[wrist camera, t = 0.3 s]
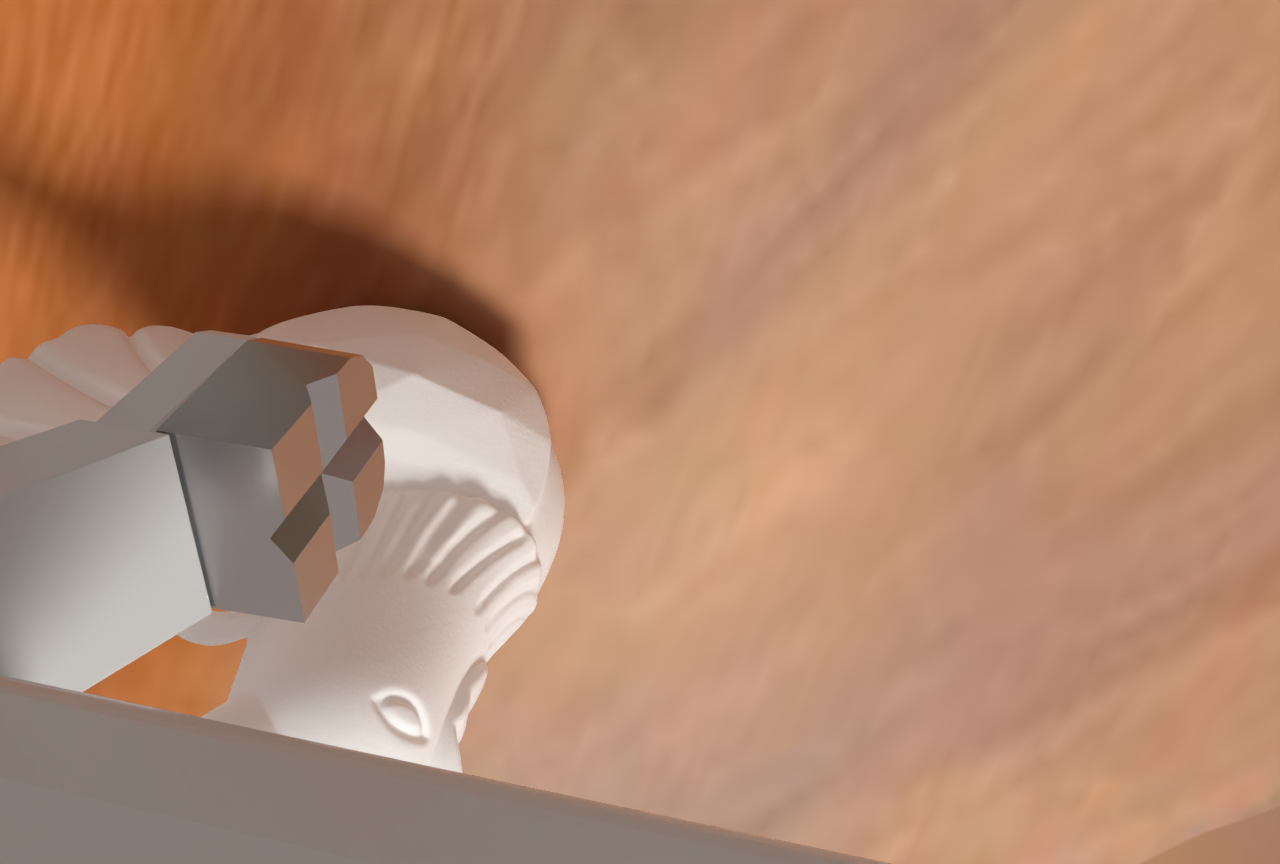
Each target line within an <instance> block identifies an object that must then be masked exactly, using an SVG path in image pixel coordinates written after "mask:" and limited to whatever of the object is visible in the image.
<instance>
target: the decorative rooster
mask: <svg viewBox="0 0 1280 864" xmlns="http://www.w3.org/2000/svg"><path fill="white" fill-rule="evenodd" d="M192 335H193V333H191V332H188V331H185V330H182V329H179V328H175V327H170V326H161V325H155V326H147V327H144V328H141V329H140V330H138V331H136V332H135V333H134V334H133V335H132V336H131V337H129V338H128V336H127V335H126V333H125V332H123V331H122V330H120V329H118V328H115V327H112V326H107V325H97V324H89V325H81V326H78V327H74V328H72V329H70V330H68V331H67V332H65V333H64V334H62V335H61V336H60V337H59V338H56V339H52V340H48V341H46V342H43V343H42V344H40V345H39V346H37V347H36V348H35V350H34V351H33V352H32V353H31V355H30V356H29V358H28V359H23V358H18V357H10V358H8V359H6V360H5V361H3V362H2V363H1V365H0V446H2V445H5V444H8V443H11V442H14V441H17V440H20V439H23V438H26V437H29V436H32V435H35V434H38V433H41V432H44V431H47V430H50V429H53V428H56V427H59V426H62V425H65V424H68V423H71V422H74V421H77V420H86V421H92V422H96V421H98V420H99V419H100V418H101V417H102V416H103V415H104V414H105V413H106V412H108V411H109V410H110V409H111V408H112V407H113V406H114V405H115V404H116V403H118V402H119V401H120V400H121V399H122V398H123V397H124V396H125V395H126V394H128V393H129V392H130V391H131V390H132V389H133V388H134V387H135V386H136V385H138V384H139V383H140V382H141V381H142V380H143V379H144V378H145V377H146V376H148V375H149V374H150V373H151V372H152V371H153V370H154V369H155V368H156V367H158V366H159V365H160V364H161V363H162V362H163V361H164V360H165V359H166V358H168V357H169V356H170V355H171V354H172V353H173V352H174V351H175V350H176V349H178V348H179V347H180V346H181V345H182V344H183V343H184V342H185V341H186V340H188V339H189V338H190V337H191V336H192ZM249 336H254V337H256V338H266V339H272V340H278V341H283V342H289V343H295V344H301V345H307V346H313V347H318V348H324V349H330V350H336V351H342V352H348V353H353V354H359V355H363V356H364V358H365V359H366V360H367V361H368V362H369V363H370V364H371V365H372V367H373V373H374V379H375V385H376V391H377V398H378V399H377V400H376V401H375V403H374V404H373V405H372V407H371V408H370V409H369V410H368V412H367V413H366V414H365V416H364V417H365V419H366V420H367V421H368V422H369V424H370V425H371V426H372V427H373V429H374V430H375V431H376V432H377V434H378V435H379V436H380V437H381V439H382V440H383V448H384V457H385V473H384V487H383V491H382V495H381V498H380V501H379V504H378V508H377V511H376V514H375V517H374V519H373V521H372V522H371V524H370V526H369V527H368V529H367V530H366V532H365V533H364V535H363V537H362V538H361V540H359V541H357V542H355V543H353V544H351V545H348V546H346V547H344V548H342V549H340V550H338V551H336V558H337V564H338V571H339V573H338V574H337V576H336V577H335V578H334V580H333V581H332V583H331V584H330V586H329V587H328V589H327V590H326V592H325V593H324V595H323V596H322V598H321V599H320V601H319V602H318V603H317V605H316V606H315V608H314V609H313V611H312V612H311V614H310V615H309V617H308V618H307V620H306V621H305V623H301V622H295V621H289V620H283V619H277V618H270V617H264V616H258V615H252V614H246V613H240V612H234V611H223V612H218V611H212V613H211V614H209V615H208V616H206V617H204V618H203V619H201V620H200V621H198V622H196V623H195V624H193V625H191V626H190V627H188V628H186V629H185V630H183V631H182V632H180V633H178V634H177V635H178V636H180V637H181V638H183V639H185V640H187V641H190V642H193V643H196V644H201V645H223V644H228V643H232V642H235V641H237V640H240V639H242V638H247V645H246V648H245V651H244V654H243V657H242V659H241V661H240V666H239V669H238V672H237V674H236V677H235V680H234V682H233V685H232V688H231V690H230V693H229V697H228V699H227V701H226V702H225V703H224V704H222V705H220V706H218V707H216V708H214V709H213V710H211V711H210V712H208V713H207V714H205V715H203V716H202V717H201V718H205V719H210V720H215V721H220V722H224V723H229V724H234V725H238V726H243V727H248V728H252V729H257V730H262V731H267V732H271V733H276V734H281V735H285V736H290V737H295V738H300V739H304V740H309V741H314V742H318V743H323V744H328V745H332V746H337V747H342V748H347V749H351V750H356V751H361V752H365V753H370V754H375V755H380V756H384V757H389V758H394V759H398V760H403V761H408V762H412V763H417V764H422V765H427V766H431V767H436V768H441V769H445V770H450V771H455V772H459V773H463V771H462V764H461V756H460V750H459V742H460V740H461V738H462V736H463V734H464V731H465V727H466V722H467V717H468V713H469V712H470V710H471V708H472V707H473V705H474V704H475V702H476V700H477V698H478V696H479V694H480V692H481V690H482V688H483V686H484V683H485V680H486V677H487V673H488V668H487V665H486V662H487V661H488V660H489V659H490V658H491V656H492V655H493V654H494V653H495V652H496V651H497V650H498V649H499V648H500V647H501V646H502V645H503V644H504V643H505V642H506V640H507V639H508V638H509V637H510V636H511V635H512V634H513V633H514V632H515V631H516V630H517V629H518V628H519V627H520V626H521V625H522V623H523V622H524V621H525V619H526V618H527V617H528V616H529V615H530V614H531V613H532V612H533V611H534V609H535V607H536V604H537V594H538V592H539V590H540V588H541V586H542V584H543V582H544V580H545V578H546V576H547V574H548V571H549V569H550V567H551V565H552V562H553V560H554V557H555V554H556V551H557V548H558V545H559V542H560V538H561V533H562V528H563V520H564V503H565V501H564V487H563V480H562V475H561V470H560V466H559V462H558V459H557V456H556V453H555V451H554V448H553V446H552V443H551V439H550V432H549V426H548V421H547V417H546V413H545V410H544V408H543V405H542V402H541V399H540V397H539V395H538V393H537V391H536V390H535V388H534V387H533V385H532V384H531V383H530V382H529V380H528V379H527V378H526V377H525V376H524V375H523V374H522V373H521V372H520V371H519V370H518V369H517V368H516V367H515V366H514V365H513V364H512V363H511V362H510V361H509V360H508V359H507V358H506V357H505V356H504V355H503V354H501V353H500V352H499V351H498V350H496V349H495V348H494V347H492V346H491V345H489V344H488V343H486V342H485V341H483V340H482V339H480V338H479V337H477V336H476V335H474V334H472V333H471V332H469V331H468V330H466V329H464V328H463V327H461V326H459V325H457V324H456V323H454V322H452V321H450V320H448V319H446V318H444V317H441V316H437V315H434V314H429V313H425V312H420V311H414V310H408V309H403V308H395V307H387V306H375V305H369V306H351V307H344V308H338V309H333V310H328V311H323V312H318V313H314V314H310V315H305V316H301V317H298V318H294V319H291V320H287V321H284V322H281V323H278V324H276V325H273V326H271V327H269V328H267V329H265V330H263V331H261V332H259V333H257V334H253V335H249Z"/></svg>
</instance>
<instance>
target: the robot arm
mask: <svg viewBox="0 0 1280 864" xmlns="http://www.w3.org/2000/svg"><path fill="white" fill-rule="evenodd" d="M377 399H378V398H377V391H376V385H375V379H374V373H373V367H372V365H371V364H370V363H369V362H368V361H367V360H366V359H365V358H364V356H363V355H359V354H353V353H348V352H342V351H336V350H330V349H324V348H318V347H313V346H307V345H301V344H295V343H289V342H283V341H278V340H272V339H266V338H256V337H254V336H249V335H242V334H235V333H228V332H221V331H214V330H208V331H200V332H195V333H194V334H193V335H192V336H191V337H190V338H189V339H188V340H186V341H185V342H184V343H183V344H182V345H181V346H180V347H179V348H178V349H176V350H175V351H174V352H173V353H172V354H171V355H170V356H169V357H168V358H166V359H165V360H164V361H163V362H162V363H161V364H160V365H159V366H158V367H156V368H155V369H154V370H153V371H152V372H151V373H150V374H149V375H148V376H146V377H145V378H144V379H143V380H142V381H141V382H140V383H139V384H138V385H136V386H135V387H134V388H133V389H132V390H131V391H130V392H129V393H128V394H126V395H125V396H124V397H123V398H122V399H121V400H120V401H119V402H118V403H116V404H115V405H114V406H113V407H112V408H111V409H110V410H109V411H108V412H106V413H105V414H104V415H103V416H102V417H101V418H100V419H99V420H98V421H96V422H92V421H86V420H77V421H74V422H71V423H68V424H65V425H62V426H59V427H56V428H53V429H50V430H47V431H44V432H41V433H38V434H35V435H32V436H29V437H26V438H23V439H20V440H17V441H14V442H11V443H8V444H5V445H2V446H0V864H890V863H886V862H881V861H876V860H871V859H867V858H862V857H857V856H852V855H848V854H843V853H838V852H833V851H829V850H824V849H819V848H814V847H810V846H805V845H800V844H796V843H791V842H786V841H781V840H777V839H772V838H767V837H762V836H758V835H753V834H748V833H743V832H739V831H734V830H729V829H725V828H720V827H715V826H710V825H706V824H701V823H696V822H691V821H687V820H682V819H677V818H672V817H668V816H663V815H658V814H653V813H649V812H644V811H639V810H635V809H630V808H625V807H620V806H616V805H611V804H606V803H601V802H597V801H592V800H587V799H582V798H578V797H573V796H568V795H563V794H559V793H554V792H549V791H545V790H540V789H535V788H530V787H526V786H521V785H516V784H511V783H507V782H502V781H497V780H492V779H488V778H483V777H478V776H474V775H469V774H464V773H459V772H455V771H450V770H445V769H441V768H436V767H431V766H427V765H422V764H417V763H412V762H408V761H403V760H398V759H394V758H389V757H384V756H380V755H375V754H370V753H365V752H361V751H356V750H351V749H347V748H342V747H337V746H332V745H328V744H323V743H318V742H314V741H309V740H304V739H300V738H295V737H290V736H285V735H281V734H276V733H271V732H267V731H262V730H257V729H252V728H248V727H243V726H238V725H234V724H229V723H224V722H220V721H215V720H210V719H205V718H201V717H196V716H191V715H187V714H182V713H177V712H172V711H168V710H163V709H158V708H154V707H149V706H144V705H140V704H135V703H130V702H125V701H121V700H116V699H111V698H107V697H102V696H97V695H92V694H88V693H83V691H85V690H87V689H88V688H90V687H91V686H93V685H95V684H96V683H98V682H100V681H101V680H103V679H105V678H106V677H108V676H110V675H111V674H113V673H114V672H116V671H118V670H119V669H121V668H123V667H124V666H126V665H128V664H129V663H131V662H132V661H134V660H136V659H137V658H139V657H141V656H142V655H144V654H146V653H147V652H149V651H150V650H152V649H154V648H155V647H157V646H159V645H160V644H162V643H164V642H165V641H167V640H168V639H170V638H172V637H173V636H175V635H177V634H178V633H180V632H182V631H183V630H185V629H186V628H188V627H190V626H191V625H193V624H195V623H196V622H198V621H200V620H201V619H203V618H204V617H206V616H208V615H209V614H211V613H212V608H216V609H222V610H228V611H234V612H240V613H246V614H252V615H258V616H264V617H270V618H277V619H283V620H289V621H295V622H301V623H305V621H306V620H307V618H308V617H309V615H310V614H311V612H312V611H313V609H314V608H315V606H316V605H317V603H318V602H319V601H320V599H321V598H322V596H323V595H324V593H325V592H326V590H327V589H328V587H329V586H330V584H331V583H332V581H333V580H334V578H335V577H336V576H337V574H338V573H339V571H338V564H337V558H336V551H338V550H340V549H342V548H344V547H346V546H348V545H351V544H353V543H355V542H357V541H359V540H361V538H362V537H363V535H364V533H365V532H366V530H367V529H368V527H369V526H370V524H371V522H372V521H373V519H374V517H375V514H376V511H377V508H378V504H379V501H380V498H381V495H382V491H383V487H384V473H385V457H384V448H383V440H382V439H381V437H380V436H379V435H378V434H377V432H376V431H375V430H374V429H373V427H372V426H371V425H370V424H369V422H368V421H367V420H366V419H365V417H364V416H365V414H366V413H367V412H368V410H369V409H370V408H371V407H372V405H373V404H374V403H375V401H376V400H377Z"/></svg>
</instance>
